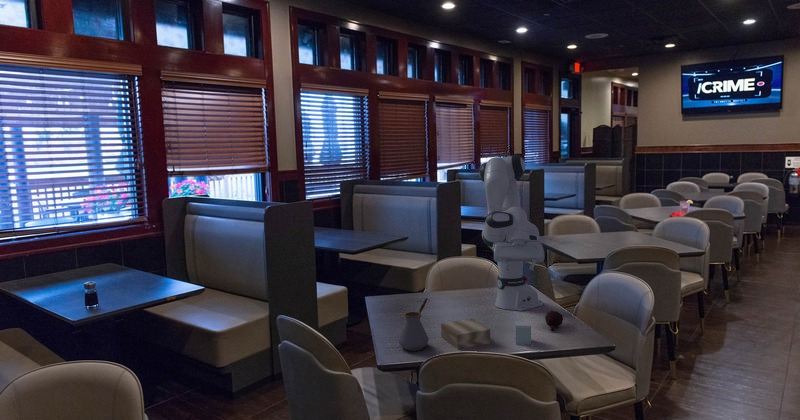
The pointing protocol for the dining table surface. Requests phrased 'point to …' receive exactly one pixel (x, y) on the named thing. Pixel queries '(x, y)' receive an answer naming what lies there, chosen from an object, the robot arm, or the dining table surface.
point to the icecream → (554, 319)
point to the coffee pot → (413, 331)
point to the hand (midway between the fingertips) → (519, 269)
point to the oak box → (465, 333)
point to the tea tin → (522, 332)
